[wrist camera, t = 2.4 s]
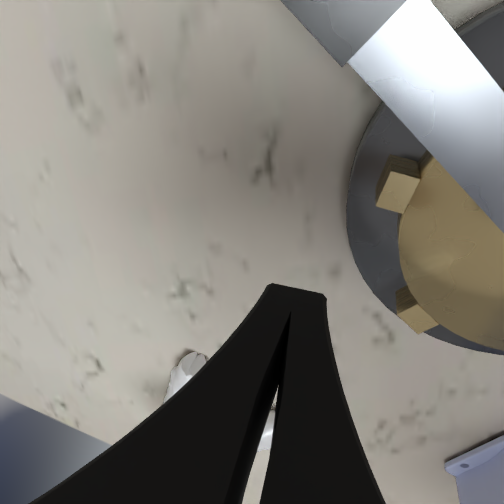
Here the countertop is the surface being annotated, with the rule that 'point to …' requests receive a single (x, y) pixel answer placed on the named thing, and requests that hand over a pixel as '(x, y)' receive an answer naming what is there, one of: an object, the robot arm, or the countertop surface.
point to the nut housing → (408, 146)
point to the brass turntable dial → (431, 157)
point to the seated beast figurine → (188, 370)
